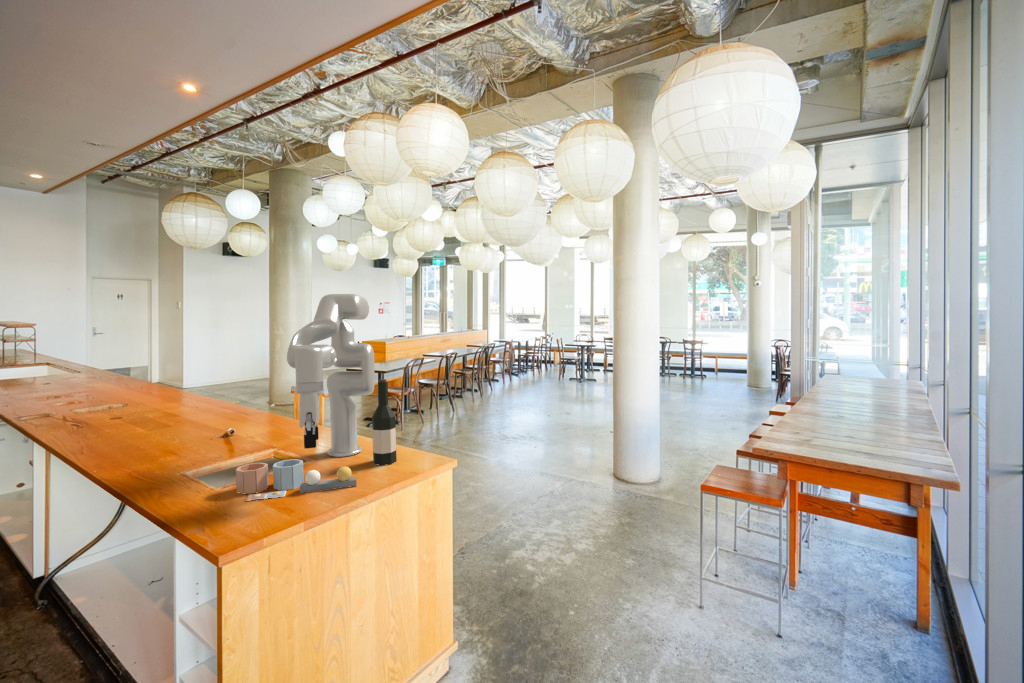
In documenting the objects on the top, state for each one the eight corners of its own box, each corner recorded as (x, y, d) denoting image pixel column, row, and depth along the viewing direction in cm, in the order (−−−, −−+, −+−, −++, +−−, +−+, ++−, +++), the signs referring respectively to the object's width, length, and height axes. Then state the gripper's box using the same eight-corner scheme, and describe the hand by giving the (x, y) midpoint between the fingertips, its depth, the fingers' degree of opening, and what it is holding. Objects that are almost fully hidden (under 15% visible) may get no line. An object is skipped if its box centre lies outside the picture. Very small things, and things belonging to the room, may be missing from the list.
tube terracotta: (240, 486, 145) (239, 464, 145) (270, 483, 148) (269, 461, 147) (234, 496, 137) (233, 472, 137) (265, 492, 140) (264, 469, 140)
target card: (249, 496, 137) (248, 493, 137) (286, 491, 140) (286, 489, 140) (245, 501, 133) (245, 499, 133) (284, 497, 136) (284, 494, 136)
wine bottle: (368, 462, 168) (366, 379, 167) (388, 457, 175) (386, 377, 173) (380, 467, 163) (378, 381, 161) (401, 461, 169) (399, 379, 167)
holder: (301, 489, 142) (300, 483, 142) (356, 483, 147) (356, 476, 147) (300, 493, 139) (299, 486, 139) (356, 486, 144) (356, 479, 144)
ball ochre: (337, 479, 146) (336, 465, 146) (351, 477, 147) (351, 464, 147) (336, 484, 142) (336, 469, 141) (351, 482, 143) (351, 468, 143)
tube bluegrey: (276, 482, 148) (275, 461, 148) (304, 479, 151) (303, 458, 151) (272, 491, 141) (271, 468, 140) (301, 488, 143) (301, 465, 143)
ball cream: (305, 483, 143) (305, 468, 143) (321, 481, 144) (320, 467, 144) (304, 487, 139) (303, 473, 138) (320, 486, 140) (319, 471, 140)
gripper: (299, 384, 147) (301, 438, 148) (292, 392, 131) (294, 452, 131) (324, 383, 149) (326, 436, 150) (321, 390, 133) (323, 449, 134)
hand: (311, 443), depth 141 cm, fingers open, 9 cm apart
